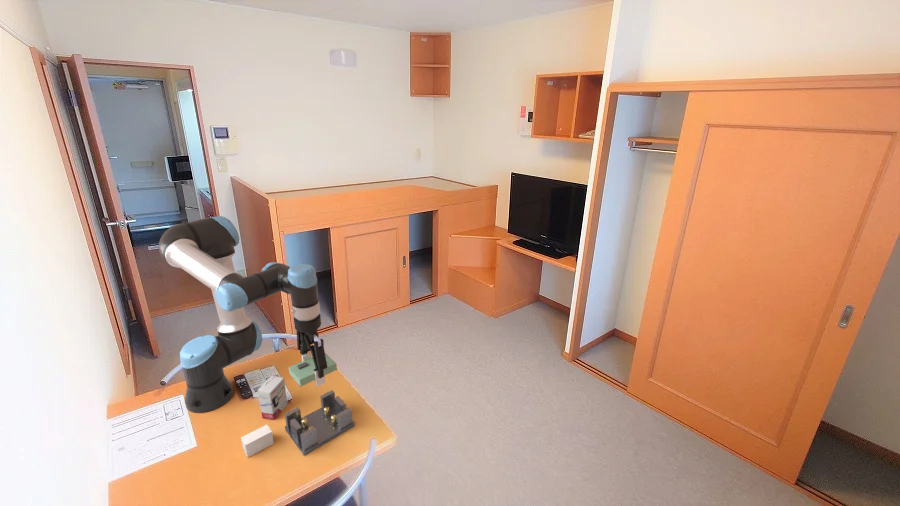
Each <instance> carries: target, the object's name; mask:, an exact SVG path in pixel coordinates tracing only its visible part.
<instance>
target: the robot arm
mask: <svg viewBox="0 0 900 506" xmlns="http://www.w3.org/2000/svg"><path fill="white" fill-rule="evenodd" d="M239 243H240V235H239V232H238V230H237V228H236V227H235V224H234V223H232V221H230V219H229V218H227V217H225V216H221V215H218V216H211V217H209V216H208V217H205V218H201V219H196V220H193V221H188V222H184V223H179V224H175V225H173V226H170V228H168V229H167V230H165V232H163V234H162V235H161V237H160V239H159V242H158V251H159V255H160V257H161V258H162V259H163V261H165V262H166V263H167V264H168V265H170V266H171V267H174V268H178V269H182V270H184V271H185V272H186V273H187V274H189V275H191V277H193V278H195V279H196V280H197V281H199V282H201V283H202V284H203V285H204V286H206V287H208V289H211V294H212V298H213V300H214V304H215V308H216V311H217V317H218V320H219V325H218V326H217V327H216V331H217V335H216V336H213V335H211V334H208V335H205V334H204V335H203V336H202V335H200V336H198V337H195V338H193V339H190V340H189V341H188V342H186V343H184V345H183V346H182V347H181V350H180V351H179V359H180V364H179V365H180V367H181V368H182V372H183V376H184V379H185V380H184V381H185V383H186V389H185V390H186V391H185V396H184V404H185V407H186V409H187V410H188V411H189V412H192V413H196V414H198V413H206V412H211V411H214V410H217V409H219V408H221V407H222V406H224V405H226V404H227V403H228V402H229V401H230V400H231V398H232V396H233V395H234V389H233V384H232V383H231V381H229V379H228V377H227V376H226V375H225V372H224V368H226V367H228V366H230V365H232V364H234V363H236V362H238V361H240V360H242V359H244V358H246V357H247V356H250V355H252V354H253V353H255V352H256V351H258V350H259V349H260V348H261V346H262V343H263V334H262V330H261V329H260V327H259V325H258V323H256V322H255V321H253V320H252V319H251V318H250V317H247V315H246V311H245V307H246V306H249V305H251V304H254V303H256V302H259V301H260V300H263V299H265V298H268V297H270V296H273V295H275V294H278V293H280V292H283V293H285V294H287V295H290V301H291V306H292V307H291V308H292V309H291V310H290V311H291V313H292V314H293V323H294V328H295V330H296V343H297V344H296V345H297V350H298V351H299V354H300V355H301V362H302V361H305V360H307V359H309V358H312V357H313V361H314V364H315V368H314V369H313V370H314V372H315V380H314V381H315V386H316V387H317V388H318V387H320V386H322V385H324V384H326V378H325V376H326V375H324V369H326V368H327V362H326V357H325V353H326V352H325V344H324V343H325V341H324V339H323V338H319V337H320V336H319V333H318V330H319V328H320V327H321V326H322V319H321V318H322V317H321V308H320V307H321V306H320V300H319V290H318V289H319V288H318V277H317V273H316V268H315V266H313V265H311V264H305V263H299V264H296V265H295V264H294V265H292V266H289V265H286V264H284V263H280V262H275V261H271V262H269V263H267V264H265V265H264V267H262V269H261V271H259V272H256V273H253V274H250V275H246V276H243V275H241V274H240V273H238V272H237V271H235V266H234V262H233V257H234V255H235V254H236V251H235V250H236V249H235V247H237V246H238V245H239Z"/></svg>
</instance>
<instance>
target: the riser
mask: <svg viewBox="0 0 900 506" xmlns="http://www.w3.org/2000/svg"><path fill="white" fill-rule="evenodd" d="M240 440H241V441H240V442H241V445H242V448H243V449H242V450H243V452H244V454H245V455H246V457H247V458H249V457H251V456H253V455H256V454H258V453H259V452H260V451H263V450H265V449H266V448H268V447H270V446H272V445H274V444H275V442H274V436H273V431H272V430H271V428H270V427H269V425H268V424H265V425H263V426H261V427H258V428H257V429H255V430H254V431H253V430H252V431H251V432H249V433H247V434H245V435H243V436H241V437H240Z"/></svg>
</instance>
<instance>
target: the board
mask: <svg viewBox="0 0 900 506" xmlns="http://www.w3.org/2000/svg"><path fill="white" fill-rule="evenodd" d="M325 357H326V362H327V368H326V369H324V375H325V376H327V375H329V374H332V373H333V372H335V371H337V370H338V367H337V366H338V365H337V363H336V361H334V360H333V359H332V358H331V357H330V356H329V355H328V354H327V353H326V352H325ZM314 368H315V364H314V361H313V357H312V356H311V358H309V359H307V360H305V361H302V360H301V361H300V362H298V363H296V364H293V365H291V366H288V373H289V375H290V376H291V378H292V379H294V381H295V382H296V383H297V384H298V386H299V387H303V386H306V385H308V384H309V383H311V382H314V381H316V380H315V372H314V370H313V369H314Z"/></svg>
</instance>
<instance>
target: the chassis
mask: <svg viewBox="0 0 900 506" xmlns="http://www.w3.org/2000/svg"><path fill="white" fill-rule="evenodd" d="M319 398H320V406H321V407H319V408H318V409H315V410H314V411H312V412H310V413H308V414H306V415H304V416H302V413H301V409H300V407H299V406H298V407H295V408H293V409H291V410H289V411H288V412H285V413H284V419H285V426H284V429H285V432H286V433H287V434H288V435H289V438H291V440H292V441H293V443H294V444H295V445H296V447H297V448H298V450H299V451H300V453H302V455H303V456H304V457H305V456H307V455H309V454H310V453H311V452H313V451H315V450H316V449H319V448H320V447H322V446H323V445H325V444H327V443H329V442H331V441H332V440H334V439H336V438H337V437H339V436H340V435H342V434H344V433H346V432H348V431H349V430H351V429H353V428H354V427H355V426H356V425H355V422H354V420H353V410H352V408H350V407H348V408H346V407H347V404H346V403H345V402H344V400H343V399H342V398H340V396H339V395H336V393H335V391H334V390H333V389H331V390H329V391H327V392H326V393H324V394H321V395H320V396H319Z"/></svg>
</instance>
